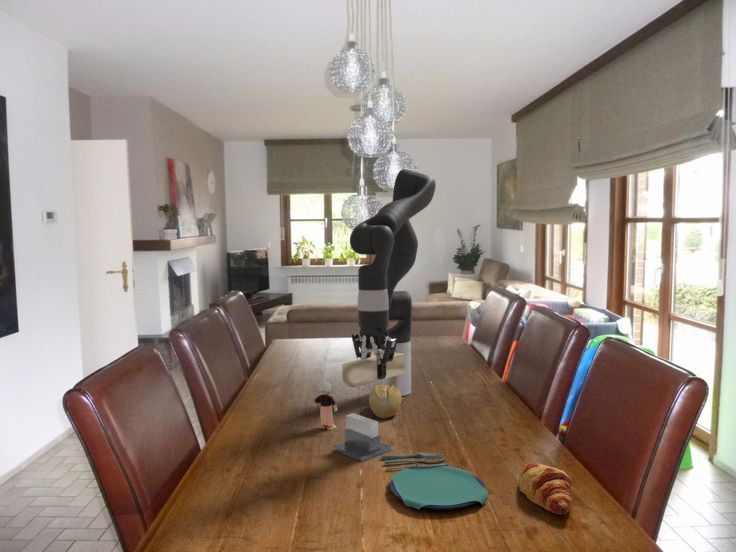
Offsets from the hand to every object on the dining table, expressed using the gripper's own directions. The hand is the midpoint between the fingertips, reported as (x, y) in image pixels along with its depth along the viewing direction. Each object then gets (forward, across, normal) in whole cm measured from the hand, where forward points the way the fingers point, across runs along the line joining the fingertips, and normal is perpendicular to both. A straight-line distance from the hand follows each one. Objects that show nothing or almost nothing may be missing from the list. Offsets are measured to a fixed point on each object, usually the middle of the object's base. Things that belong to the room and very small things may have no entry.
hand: (374, 376), depth 147 cm
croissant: (+19, -43, -6) cm, 47 cm away
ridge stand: (+18, +2, +3) cm, 18 cm away
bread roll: (+18, +18, -22) cm, 34 cm away
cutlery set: (+19, -22, +5) cm, 29 cm away
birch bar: (+1, 0, 0) cm, 1 cm away
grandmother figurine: (+18, +21, -2) cm, 27 cm away
